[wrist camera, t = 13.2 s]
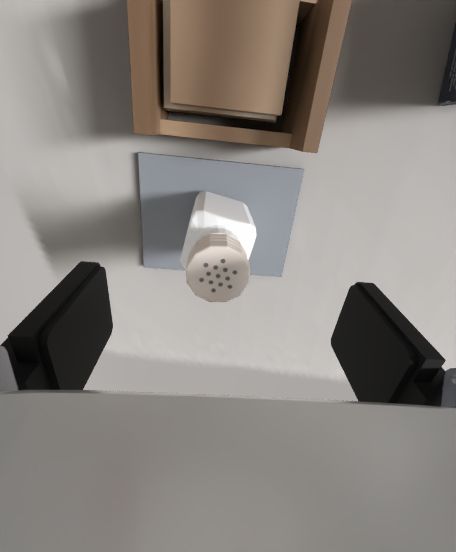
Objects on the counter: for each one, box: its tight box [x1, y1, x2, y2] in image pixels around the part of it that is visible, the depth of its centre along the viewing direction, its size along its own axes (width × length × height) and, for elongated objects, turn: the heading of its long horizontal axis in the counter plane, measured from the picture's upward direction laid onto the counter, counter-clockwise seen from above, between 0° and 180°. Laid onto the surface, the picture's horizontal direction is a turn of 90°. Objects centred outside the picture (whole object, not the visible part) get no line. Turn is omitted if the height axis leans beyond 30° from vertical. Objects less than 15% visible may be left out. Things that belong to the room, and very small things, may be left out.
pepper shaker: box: [180, 191, 256, 302], centre depth 18 cm, size 4×4×10 cm
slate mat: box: [138, 152, 304, 277], centre depth 22 cm, size 12×9×1 cm
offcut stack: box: [163, 0, 300, 123], centre depth 16 cm, size 7×5×5 cm
